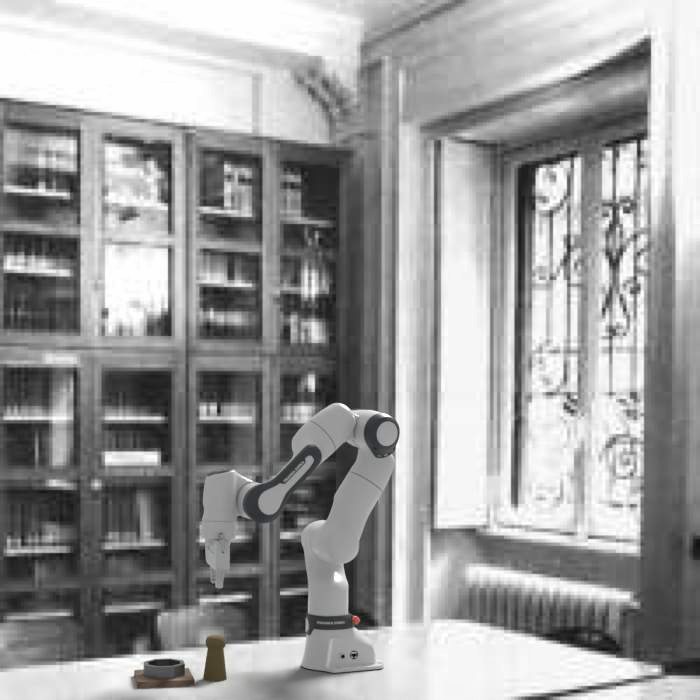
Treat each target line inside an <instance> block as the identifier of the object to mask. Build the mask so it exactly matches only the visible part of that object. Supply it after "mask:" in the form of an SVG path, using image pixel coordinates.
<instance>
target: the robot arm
mask: <svg viewBox="0 0 700 700" xmlns="http://www.w3.org/2000/svg"><path fill="white" fill-rule="evenodd" d="M400 430H401V429H400V425H399V423H398V421H397V420H396V419H395V418H394V417H392V416H391V415H389V414H388V413H385V412H380V411H377V410H373V409H362V408H361V409H360V408H352V409H351V408H349V407H348V406H347V405H345V404H343V403H341V402H334V403H331V404H329V405H327V406H326V407H325V408H323V409H321V410H320V411H318V412H317V413H316V414H315V415H313V416H312V417H311V418H310V419H309V420H307V421H306V422H305V423H304V424H303V425H301V427H300V428H299V429H298V430H297V432H296V433H295V435H294V436H293V437H292V440H291V450H292V453H293V454H292V457H291V459H290V460H289V461H288V462H287V464H285V465H284V466H283V467H282V468H281V470H279V472H278V473H276V474H275V476H274V477H272V478H271V479H270V480H267V481H265V482H261V483H260V482H257V481H254V480H251V479H249V478H247V477H244V475H242V474H240V473H238V472H237V471H236V470H235V469H234V468H221V469H216V470H212V471H210V472H209V473H208V474H207V475H206V477H205V480H204V485H203V494H202V505H203V514H202V518H201V519H202V520H201V535H200V536H201V539H203V540H204V550H205V552H204V554H205V561H206V564H207V565H208V566H210V567H209V572H210V582H211V584H215V585H214V586H215V588H216V589H223V588H224V579H225V574H226V573H227V572H230V567H231V563H230V561H231V547H230V546H231V541H232V540H235V539H236V535H237V518H238V517H239V516H241V517H243V518H246V519H248V520H252V521H253V522H256V523H259V524H268V523H271V522H274V521H275V520H277V519H278V518H279V517H280V515H281V514H282V512H283V510H284V508H285V506H286V504H287V502H288V501H289V498H290V497H291V496H292V495H293V494H294V493H295V491H297V489H298V488H299V487H300V486H301V485H302V484H303V483H304V482H305V481H306V480H307V479H308V477H310V476H311V474H312V473H313V472H314V471H315V470H316V469H317V468H318V467H319V466H320V465H321V464H322V463H323V462H325V460H327V459H328V458H329V457H330V456H332V455H333V454H334V453H335V452H336V451H337V449H339V448H340V447H341V446H342V445H343V444H344V443H345V444H347V445H349V446H351V447H355V448H358V449H357V450H358V451H357V456H356V460H355V462H354V463H353V465H352V466H351V467H350V470H349V471H348V472H347V473H346V475H345V478H344V479H343V480H342V483H341V484H340V485H339V487H338V489H337V490H336V492H335V493H334V496H333V502H332V506H331V509H330V512H329V514H328V517H327V518H326V520H325V519H321V520H320V519H319V520H316V521H313V522H311V523H309V524H307V525H306V526H305V527H304V529H303V530H302V533H301V536H300V541H301V547H302V548H303V552H304V554H303V555H304V562H305V570H306V574H307V575H306V576H307V591H308V592H307V593H308V594H307V596H308V597H307V599H308V600H307V612H306V616H305V634H306V637H305V638H306V640H305V647H304V652H303V657H302V660H301V662H300V666H301V667H303V668H306V669H309V670H314V671H322V672H326V673H327V672H328V673H333V674H335V673H337V674H338V673H348V672H359V671H371V670H380V669H383V668H384V662H383V660H382V659H380V658H378V657H377V656H376V649H375V647H374V644H373V642H372V641H371V639H369V637H367V636H366V635H365V634H364V633H363V632H361V631H360V630H359V629H358V628H356V627H355V625H359V623H360V622H361V619H360V618H359V616H357V615H353V614H352V613H350V612H349V583H348V580H347V576H346V573H345V572H346V571H345V567H344V566H345V565H344V564H347V563H349V562H352V560H354V559H355V558H356V557H357V555H358V554H359V550H360V540H361V537H362V534H363V531H364V528H365V526H366V523H367V521H368V519H369V516H370V514H371V512H372V511H373V509H374V507H375V505H376V504H377V502H378V501H379V498H380V497H381V496H382V494H383V492H384V490H385V489H386V487H387V485H388V483H389V481H390V478H391V476H392V473H393V472H394V468H395V466H396V460H395V459H396V458H395V457H394V455H393V453H394V452H395V451H396V446H397V445H398V442H399V439H400V434H401V432H400ZM225 572H226V573H225Z"/></svg>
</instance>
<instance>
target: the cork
mask: <svg viewBox="0 0 700 700" xmlns="http://www.w3.org/2000/svg"><path fill="white" fill-rule="evenodd" d="M226 645H227V639H226V637H225V636H224V635H221V634H211V635H208V636H207V637H206V639H205V647H206V648H207V651H206V657H205V664H204V670H203V677H202V679H203V681H205V682H222V681H226V680H227V678H228V677H227V668H226V659H225V648H226Z"/></svg>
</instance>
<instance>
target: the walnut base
mask: <svg viewBox="0 0 700 700" xmlns="http://www.w3.org/2000/svg"><path fill="white" fill-rule="evenodd" d="M133 672H134V673H133V677H134V680H135V684H136V687H137V689H152V688H153V689H155V688H178V687H193V686H194V687H195V678H194V676H193V673H192V671H191V669H190V668H189V667H185V676H182V677H179V678H175V679H151V678H145V677H144V674H143V669H134V671H133Z"/></svg>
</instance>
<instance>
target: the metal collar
mask: <svg viewBox="0 0 700 700" xmlns="http://www.w3.org/2000/svg"><path fill="white" fill-rule="evenodd" d="M185 668H186V663H185V661H184V659H183V660H182V659H178V658H177V659H176V658H171V657H169V658H153V659H150V660H145V661H143V669H142V670H143V674H144V677H145V678H151V679H175V678H179V677H182V676H185Z"/></svg>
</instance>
